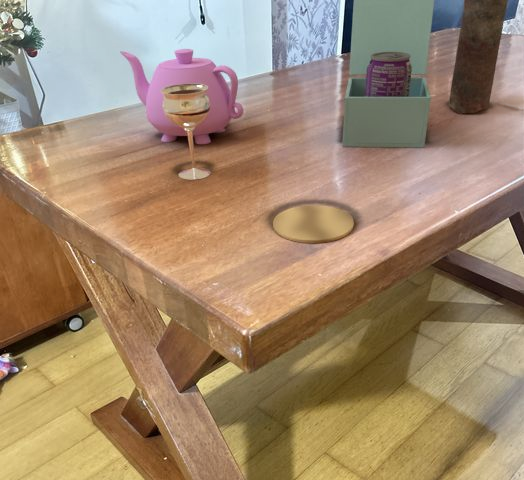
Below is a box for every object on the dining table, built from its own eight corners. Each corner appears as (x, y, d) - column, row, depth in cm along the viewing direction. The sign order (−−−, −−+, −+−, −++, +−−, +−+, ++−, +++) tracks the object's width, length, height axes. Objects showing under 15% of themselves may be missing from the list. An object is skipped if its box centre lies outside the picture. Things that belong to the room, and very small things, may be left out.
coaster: (331, 202, 72) (331, 200, 72) (368, 233, 65) (368, 230, 64) (261, 216, 70) (261, 213, 69) (291, 249, 62) (291, 246, 62)
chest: (424, 147, 88) (431, 97, 83) (342, 146, 90) (344, 97, 85) (419, 122, 99) (425, 77, 94) (346, 122, 101) (349, 77, 96)
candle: (441, 105, 107) (460, -16, 95) (477, 103, 108) (500, -19, 95) (456, 116, 101) (478, -13, 89) (494, 113, 102) (521, -15, 89)
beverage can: (391, 125, 96) (399, 49, 89) (412, 136, 91) (422, 56, 83) (355, 130, 94) (359, 53, 87) (374, 142, 89) (381, 61, 82)
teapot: (114, 144, 96) (96, 57, 88) (154, 119, 107) (142, 41, 99) (228, 152, 90) (221, 60, 81) (259, 125, 101) (255, 42, 93)
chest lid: (437, -28, 88) (434, -22, 92) (355, -25, 90) (355, -19, 94) (426, 74, 94) (423, 76, 97) (349, 74, 96) (349, 76, 100)
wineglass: (170, 168, 85) (158, 85, 77) (213, 163, 86) (205, 81, 78) (174, 184, 80) (162, 96, 72) (220, 178, 81) (212, 92, 73)
